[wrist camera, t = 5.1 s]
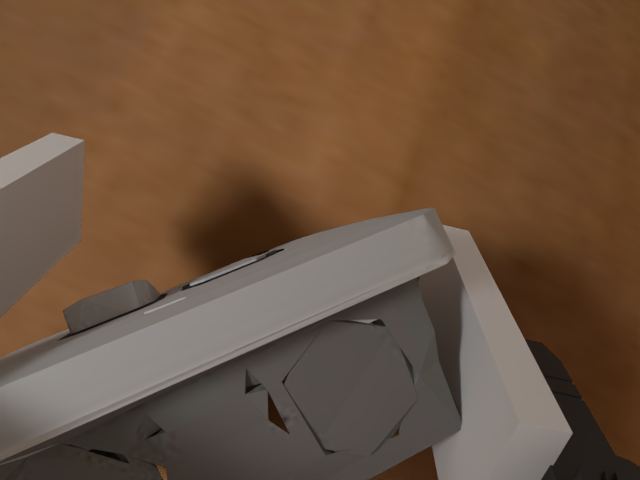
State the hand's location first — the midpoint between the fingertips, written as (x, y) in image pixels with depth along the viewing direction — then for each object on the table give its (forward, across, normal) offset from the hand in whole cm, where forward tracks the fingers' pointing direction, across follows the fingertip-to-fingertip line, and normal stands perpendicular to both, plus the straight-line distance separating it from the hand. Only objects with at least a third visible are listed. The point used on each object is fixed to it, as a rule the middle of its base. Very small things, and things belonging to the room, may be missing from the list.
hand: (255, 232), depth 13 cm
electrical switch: (+1, 0, -5) cm, 5 cm away
